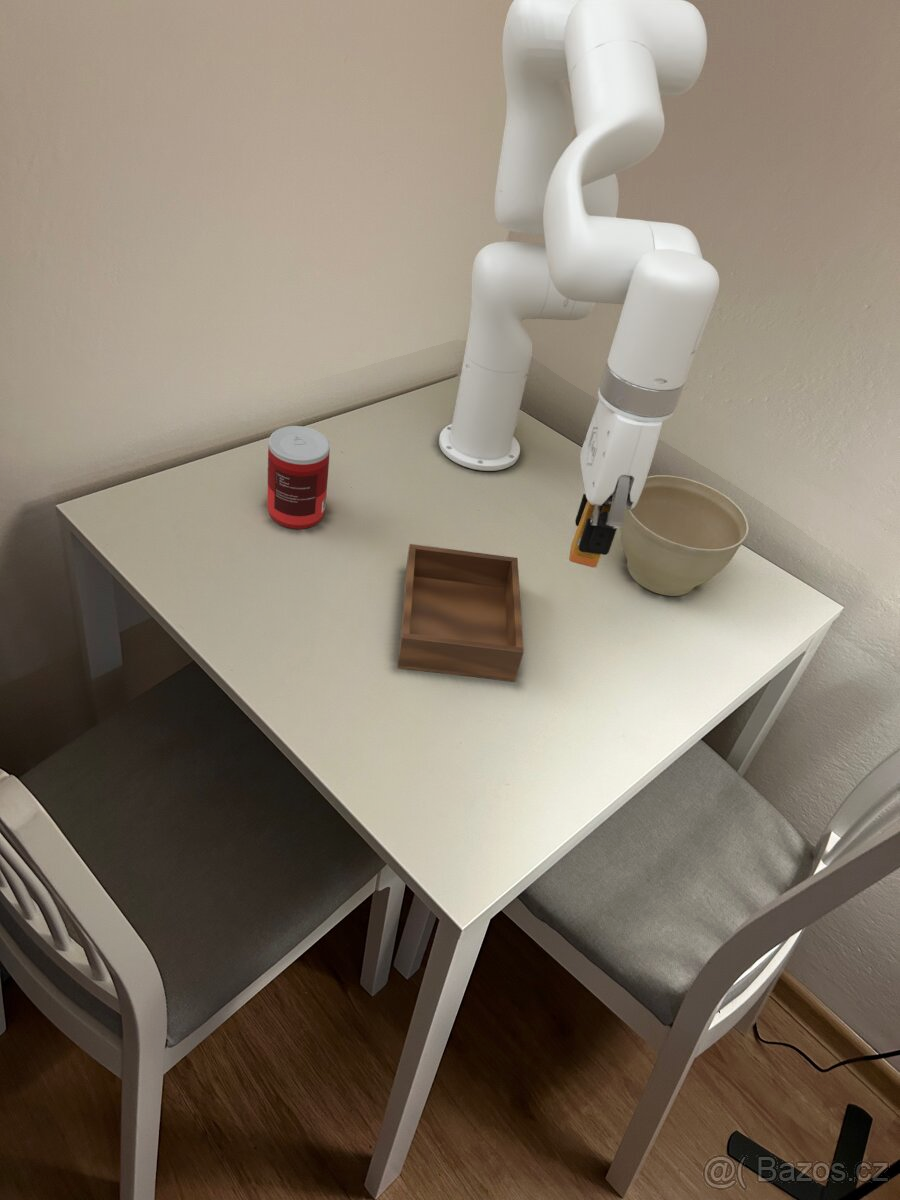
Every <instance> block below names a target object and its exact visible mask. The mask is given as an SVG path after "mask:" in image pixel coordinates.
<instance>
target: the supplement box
mask: <svg viewBox="0 0 900 1200" xmlns="http://www.w3.org/2000/svg"><path fill="white" fill-rule="evenodd" d="M612 496H613V495H611V497H612ZM610 507H611V506H605V505H603V506H602V510H601V513H602V512H603V511H604V512H609V511H610ZM593 509H594V505H591V504H590V503H589V502H588V501H587V503H586V506H585V509H584V511H583V514H582V517H581V519H580V522H579V525H578V526H577V528H576V530H575V533H574V536H573V538H572V543H571V545H570V551H569V557H568V560H569V562H571V563H574V564H578V565H582V566H585V567H589V568H594V569H596V568H597V567H598V565H599V564H598V563H599V562H600V561H599V560H600V558H601V555H602V554H595V553H587V552H581V551H580V550H579V544H580V540H581V537H582V534H583V531H584V528H585V525H586V522H587V519H591V516H592V513H593Z"/></svg>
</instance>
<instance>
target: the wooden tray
mask: <svg viewBox="0 0 900 1200" xmlns="http://www.w3.org/2000/svg"><path fill="white" fill-rule="evenodd" d="M407 552H408V553H407V559H406V564H405V565H406V566H405V571H404V582H403V591H402V592H403V593H402V594H403V595H402V607H401V617H400V630H399V642H398V643H399V644H398V655H397V666H396V667H397V669H403V670H404V669H405V670H413V671H420V672H430V673H436V674H437V673H438V674H439V673H440V674H447V675H455V676H463V677H472V678H480V679H489V680H496V681H497V680H498V681H504V682H505V681H506V682H516V679H517V676H518V672H519V669H520V665H521V662H522V659H523V655H524V638H523V624H522V607H521V594H520V593H521V592H520V591H521V590H520V576H519V561H518V557H514V556H506V555H499V554H491V553H482V552H477V551H467V550H459V549H451V548H446V547H445V548H444V547H436V546H430V545H421V544H413V543H410V544H409V546H408V551H407Z"/></svg>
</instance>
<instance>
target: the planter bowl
mask: <svg viewBox="0 0 900 1200" xmlns="http://www.w3.org/2000/svg"><path fill="white" fill-rule="evenodd" d="M619 528H620V529H619V530H620V532H619V534H620V542H621V545H622V550H623V553H624V556H625V558H626V560H627V561H626V567H627V570H628V573H629V575H630V576H631V578H632V579H633V580H634V581H635V582H636V583H637V584H638V585H640V586H641V587H643V588H645V589H646V590H648V591H650V592H653V593H655V594H658V595H663V596H669V597H678V596H684V595H686V594H689V593H691V592H692V591H693V590H694V589H695V587H697V586H700V585H702V584H704V583H706V582H708V581H709V580H711V579H713V577H716V576H717V575H718V574H719V573H720V572H721V571H723V570H724V569H725V567H726V566H727V565H728V564H729V563H730V562H731V561H732V559H733V558H734V557H735V556H736V553H737V551H738V550H739V548H740V547H741V546H742V544H744V542H745V541H746V538H747V537H748V535H749V530H750V529H749V528H750V527H749V521H748V518H747V516H746V515H745V513H744V512H743V510H742V509H741V508H740V506H738V504H736V502H734V501H733V499H731V498H730V497H729V496H728V495H725V494H724V493H723V492H721V491H719V490H717V489H716V488H714V487H711V486H709V485H707V484H705V483H702V482H700V481H697V480H694V479H690V478H687V477H683V476H677V475H669V474H667V475H666V474H665V475H664V474H655V475H650V476H647V479H646V482H645V484H644V487H643V490H642V493H641V495H640V498H639V500H638V502H637V504H636V506H635V507H634V508H633V509H631V510H628V509H627V506H626V509H625V514H624V520H623V525H622V527H619Z"/></svg>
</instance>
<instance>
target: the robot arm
mask: <svg viewBox="0 0 900 1200" xmlns="http://www.w3.org/2000/svg"><path fill="white" fill-rule="evenodd" d="M502 32H503V33H502V42H501V53H502V54H501V55H502V56H501V57H502V68H503V69H502V70H503V77H504V85H505V91H506V92H505V93H506V114H505V122H504V123H505V124H504V129H503V135H502V141H501V142H502V143H501V149H500V155H499V163H498V169H497V178H496V184H495V191H494V204H493V205H494V206H493V207H494V215H495V220H496V221H497V223H498V225H499V226H501V227H502V228H504V229H505V230H508V231H510V232H513V233H514V232H515V233H519V234H526V235H537V236H544V243H539V242H537V243H536V242H525V241H509V240H508V241H507V240H506V241H496V242H492V243H490V244H487V245H485V246H484V247H483V248H481V249H480V250H479V251H478V253H477V254H476V256H475V258H474V259H473V264H472V270H471V297H470V316H469V325H468V331H467V337H466V341H465V342H466V343H465V349H464V355H463V360H462V366H461V372H460V378H459V383H458V389H457V395H456V400H455V404H454V411H453V417H452V423H450V424H448V425H447V426H445V427H444V428H443V429H442V430H441V431H440V433H439V437H438V445H439V448H440V450H441V451H442V453H443V454H444V455H445V456H446V457H447V458H448V459H449V460H451V461H452V462H454V463H455V464H458V465H460V466H462V467H464V468H468V469H471V470H476V471H483V472H496V471H501V470H504V469H507V468H510V467H511V466H513V465H514V464H516V463H517V461H518V460H519V457H520V454H521V445H520V443H519V441H518V439H517V438H516V437H515V436H514V435H515V431H516V426H517V422H518V418H519V414H520V410H521V404H522V401H523V397H524V393H525V389H526V384H527V379H528V375H529V370H530V366H531V362H532V361H531V360H532V357H533V353H534V352H533V351H534V350H533V349H534V348H533V342H532V339H531V336H530V334H529V332H528V331H527V329H526V327H525V326H524V324H523V323H522V322H523V321H524V320H532V319H533V320H535V319H537V320H538V319H541V320H542V319H543V320H556V321H557V320H558V321H578V320H582V319H584V318H587V317H588V316H589V315H590V314H592V311H593V310H594V309H595V306H596V304H598V303H599V304H614V305H623V306H622V309H621V312H620V316H619V319H618V323H617V327H616V330H615V334H614V336H613V339H612V343H611V346H610V350H609V353H608V357H607V360H606V363H605V366H604V370H603V373H602V377H601V380H600V384H599V386H598V390H597V391H598V392H597V397H598V401H597V404H596V406H595V410H594V412H593V415H592V418H591V421H590V424H589V426H588V430H587V432H586V436H585V438H584V440H583V444H582V447H581V450H580V457H579V461H580V470H581V477H582V481H583V483H582V484H583V487H584V493H583V494H582V498H581V501H580V504H579V508H578V510H577V514H576V517H575V526H576V527H578V525H579V522H580V519H581V517H582V514H583V511H584V509H585V506H586V503H587V501H588V502H589V503H590V504H591V505H594V509H593V513H592V516H591V519H587V522H586V525H585V528H584V531H583V534H582V537H581V540H580V544H579V550H580V551H581V552H587V553H595V554H601V555H602V556H606V555H608V554H609V553H610V551H611V547H612V545H613V541H614V539H615V536H616V532H617V530H618V529H619V528H620V527H622V525H623V520H624V514H625V509H626V506H627V509H628V510H631V509H633V508H634V507H635V506H636V504H637V502H638V500H639V498H640V495H641V493H642V490H643V487H644V484H645V482H646V479H647V477H649V476H648V475H649V472H650V469H651V467H652V466H651V465H652V462H653V459H654V456H655V453H656V449H657V446H658V443H659V438H660V433H661V431H662V426H663V422H665V421H668V420H669V419H671V418H672V417H674V414H675V411H676V408H677V407H678V403H679V401H680V398H681V396H682V392H683V390H684V387H685V384H686V381H687V379H688V376H689V373H690V370H691V367H692V364H693V362H694V359H695V356H696V354H697V351H698V348H699V345H700V342H701V340H702V337H703V334H704V332H705V329H706V327H707V324H708V321H709V318H710V316H711V313H712V310H713V307H714V305H715V302H716V299H717V297H718V294H719V289H720V277H719V273H718V271H717V270H716V268H715V267H714V266H713V264H711V262H709V261H707V260H705V259H704V258H703V254H702V250H701V247H700V243H699V240H698V239H697V237H696V235H695V234H694V233H693V231H691V230H690V229H689V228H688V227H686V226H684V225H681V224H678V223H671V222H663V221H662V222H661V221H651V220H644V219H633V218H623V217H617V214H618V209H619V200H620V197H619V196H620V191H619V182H618V177H617V174H618V173H621V172H623V171H626V170H628V169H630V168H632V167H634V166H636V165H638V164H640V163H641V162H643V161H644V160H645V159H647V158H648V157H649V156H650V155H652V153H653V152H654V151H655V150H656V149H657V148H658V146H659V145H660V143H661V141H662V139H663V136H664V132H665V124H666V123H665V114H664V109H663V104H662V98H661V96H667V97H677V96H681V95H683V94H685V93H687V92H689V90H691V89H692V87H694V86H695V84H696V82H697V81H698V80H699V77H700V75H701V73H702V72H703V69H704V64H705V62H706V56H707V51H708V33H707V27H706V24H705V21H704V18H703V16H702V14H701V13H700V10H699V9H698V8H697V7H696V6H695V5H694V4H692V3H691V2H690V1H687V0H513V1H512V2H511V4H510V6H509V7H508V11H507V14H506V17H505V22H504V26H503V31H502ZM565 81H567V82H569V89H570V91H569V89H568V86H567V84H566V82H565ZM575 132H576V137H575V138H574V133H575ZM573 138H574V139H573ZM611 495H613V496H612V497H611ZM603 505H605V506H611V507H610V511H609V512H604V511H603V512H602V513H601V510H602V506H603Z"/></svg>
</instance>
